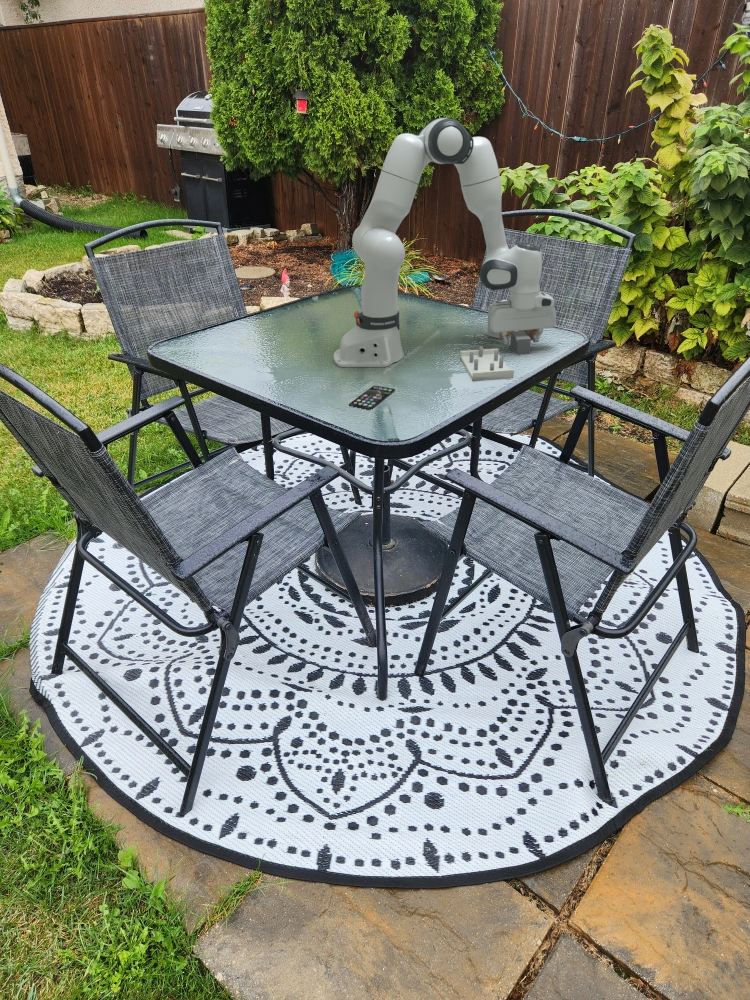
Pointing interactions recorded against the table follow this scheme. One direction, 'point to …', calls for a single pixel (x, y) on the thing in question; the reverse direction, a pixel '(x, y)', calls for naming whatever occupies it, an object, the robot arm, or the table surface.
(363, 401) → the smartphone
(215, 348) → the table surface
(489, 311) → the small box
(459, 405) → the table surface
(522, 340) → the block
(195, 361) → the table surface
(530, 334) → the walnut block
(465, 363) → the peg board
